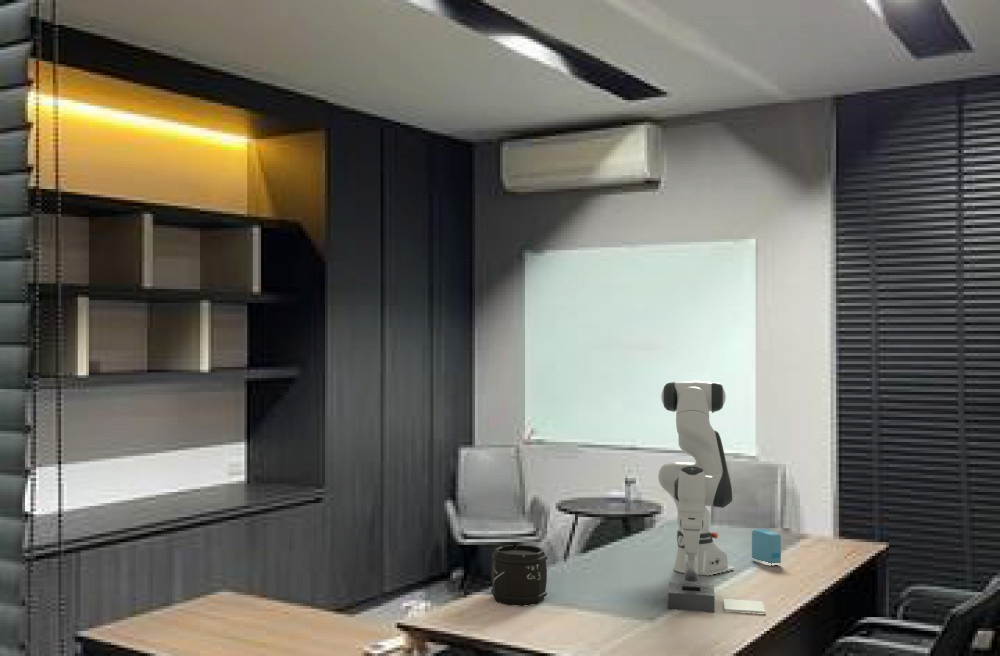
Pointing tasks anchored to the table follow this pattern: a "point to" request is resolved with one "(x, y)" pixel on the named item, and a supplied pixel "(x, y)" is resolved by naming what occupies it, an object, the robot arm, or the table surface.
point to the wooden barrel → (519, 575)
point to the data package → (766, 546)
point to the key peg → (691, 569)
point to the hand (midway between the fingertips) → (691, 563)
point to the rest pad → (743, 606)
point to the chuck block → (691, 597)
